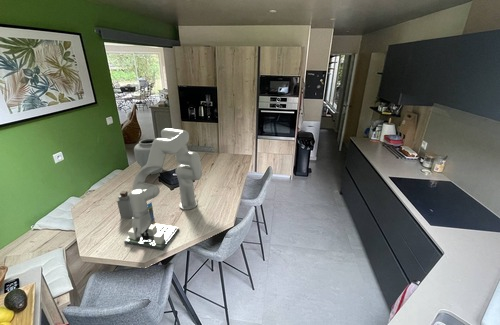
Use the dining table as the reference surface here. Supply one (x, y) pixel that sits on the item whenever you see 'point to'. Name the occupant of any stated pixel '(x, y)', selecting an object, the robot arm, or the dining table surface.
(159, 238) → the breaker high
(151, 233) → the block
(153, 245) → the panel
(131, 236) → the block
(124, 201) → the perfume bottle
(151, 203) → the label tape box
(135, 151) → the ceramic vase
